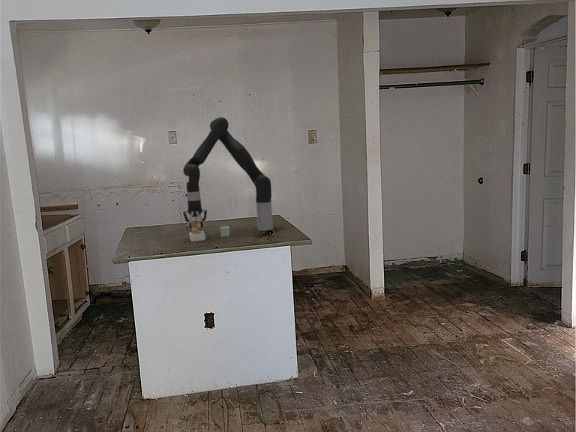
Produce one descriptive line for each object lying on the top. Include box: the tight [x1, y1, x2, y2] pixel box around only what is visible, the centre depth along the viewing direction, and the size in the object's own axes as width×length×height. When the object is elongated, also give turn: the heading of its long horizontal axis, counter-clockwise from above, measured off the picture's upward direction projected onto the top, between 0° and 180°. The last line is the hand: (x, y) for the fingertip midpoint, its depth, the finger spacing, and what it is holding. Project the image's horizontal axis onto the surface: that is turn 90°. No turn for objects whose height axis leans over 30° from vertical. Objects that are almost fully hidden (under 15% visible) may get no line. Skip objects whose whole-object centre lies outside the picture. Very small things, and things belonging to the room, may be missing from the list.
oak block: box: [191, 219, 203, 232], centre depth 297 cm, size 5×5×5 cm
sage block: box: [220, 225, 231, 238], centre depth 304 cm, size 5×5×5 cm
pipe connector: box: [187, 217, 206, 232], centre depth 317 cm, size 10×10×10 cm
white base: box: [189, 230, 206, 242], centre depth 298 cm, size 8×8×4 cm
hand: (196, 228), depth 298 cm, fingers closed on oak block, 5 cm apart
